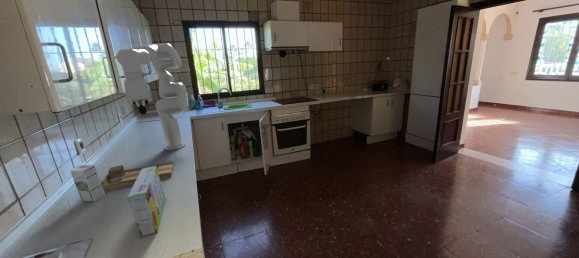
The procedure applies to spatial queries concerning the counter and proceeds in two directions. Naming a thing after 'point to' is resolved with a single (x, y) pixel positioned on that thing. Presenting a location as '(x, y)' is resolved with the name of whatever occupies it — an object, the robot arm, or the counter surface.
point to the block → (116, 172)
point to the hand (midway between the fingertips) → (144, 113)
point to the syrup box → (87, 183)
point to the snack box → (147, 201)
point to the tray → (136, 176)
